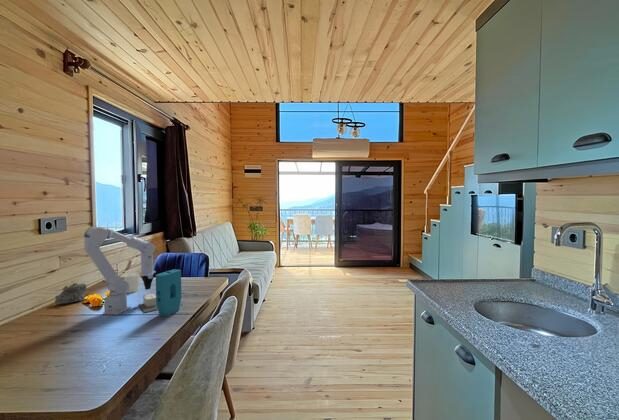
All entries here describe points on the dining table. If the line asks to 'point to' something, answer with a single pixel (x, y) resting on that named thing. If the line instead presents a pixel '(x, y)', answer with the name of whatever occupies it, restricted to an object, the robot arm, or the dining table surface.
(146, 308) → the mat
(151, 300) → the block
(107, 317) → the dining table surface
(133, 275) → the white cup
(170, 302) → the block
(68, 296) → the mineral rock
